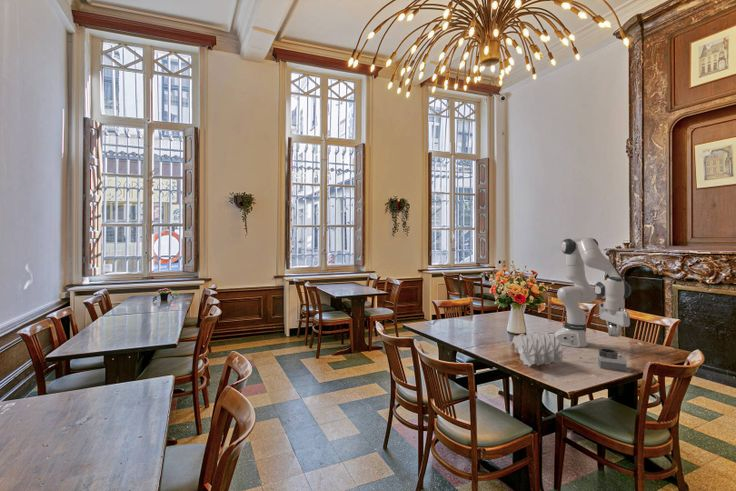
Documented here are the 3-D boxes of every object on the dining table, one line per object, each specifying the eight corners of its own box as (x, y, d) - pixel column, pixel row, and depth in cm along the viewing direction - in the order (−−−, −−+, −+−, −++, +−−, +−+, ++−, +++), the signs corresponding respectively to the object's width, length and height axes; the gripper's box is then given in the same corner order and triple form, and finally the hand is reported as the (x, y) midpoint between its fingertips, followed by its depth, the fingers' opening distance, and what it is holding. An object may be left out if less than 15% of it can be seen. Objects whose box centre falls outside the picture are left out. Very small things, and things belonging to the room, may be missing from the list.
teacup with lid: (524, 350, 242) (525, 332, 242) (533, 354, 233) (533, 335, 233) (507, 350, 240) (507, 332, 240) (514, 355, 231) (515, 336, 231)
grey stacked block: (599, 368, 211) (600, 352, 210) (597, 363, 219) (598, 347, 219) (626, 371, 206) (626, 355, 205) (623, 366, 214) (623, 350, 214)
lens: (608, 336, 211) (609, 323, 211) (607, 334, 216) (607, 321, 216) (620, 337, 209) (620, 324, 209) (618, 335, 214) (618, 322, 214)
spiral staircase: (561, 371, 216) (524, 373, 209) (541, 349, 231) (507, 351, 224) (574, 346, 208) (536, 348, 201) (553, 326, 224) (517, 326, 216)
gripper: (633, 310, 202) (632, 336, 202) (608, 303, 222) (607, 326, 223) (622, 310, 202) (621, 336, 202) (597, 303, 222) (596, 326, 222)
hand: (613, 331), depth 212 cm, fingers closed on lens, 5 cm apart
